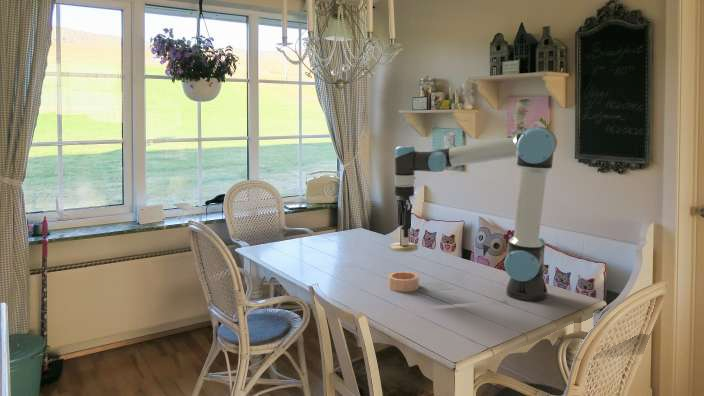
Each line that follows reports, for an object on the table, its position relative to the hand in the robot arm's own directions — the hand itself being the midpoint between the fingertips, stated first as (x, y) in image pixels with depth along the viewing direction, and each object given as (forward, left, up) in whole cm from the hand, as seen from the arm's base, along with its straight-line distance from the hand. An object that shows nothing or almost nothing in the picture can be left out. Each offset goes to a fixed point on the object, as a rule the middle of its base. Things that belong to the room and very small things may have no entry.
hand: (403, 243), depth 210 cm
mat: (-2, -13, -19) cm, 23 cm away
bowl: (0, 0, -19) cm, 19 cm away
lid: (0, 0, -2) cm, 2 cm away
